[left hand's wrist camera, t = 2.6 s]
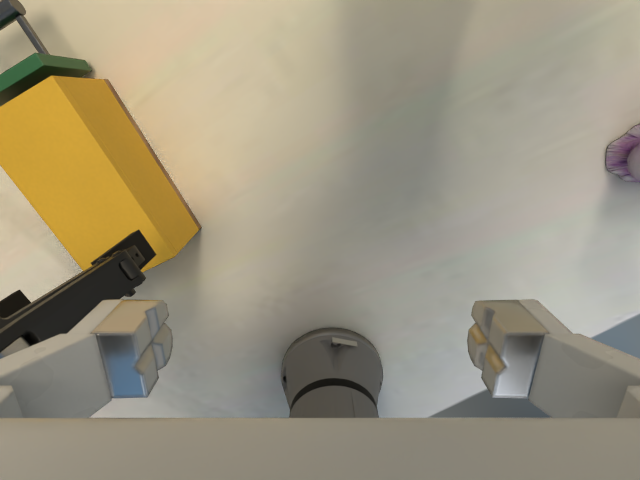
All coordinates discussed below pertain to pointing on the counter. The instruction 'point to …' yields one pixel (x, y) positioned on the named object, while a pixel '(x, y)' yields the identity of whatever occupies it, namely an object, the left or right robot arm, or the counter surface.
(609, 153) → the figurine
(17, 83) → the drawer
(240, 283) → the counter surface
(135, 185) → the cabinet
